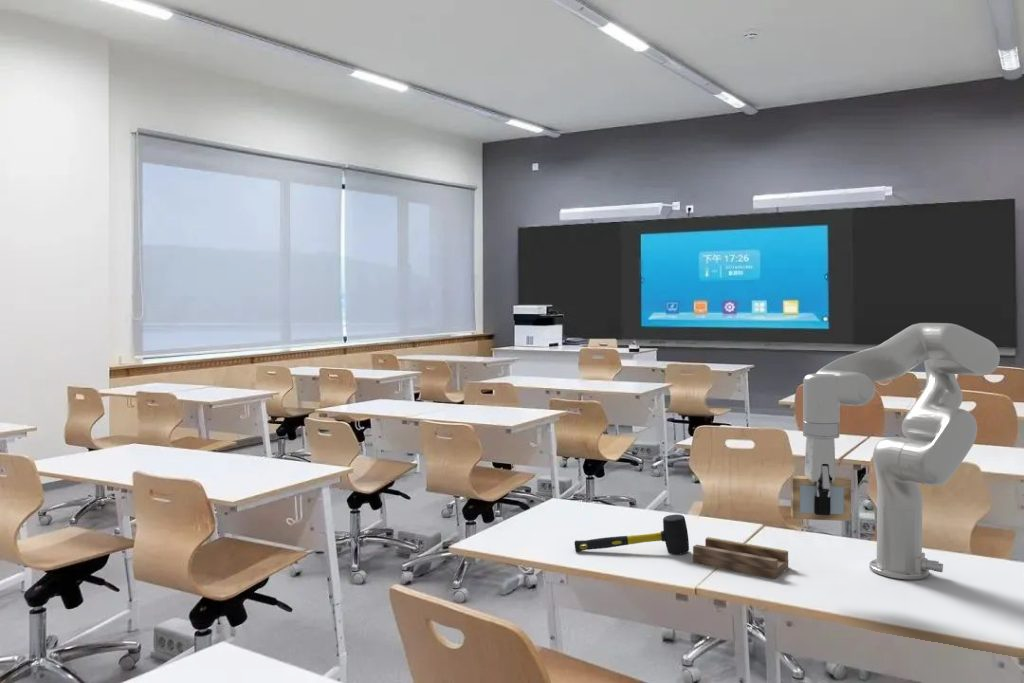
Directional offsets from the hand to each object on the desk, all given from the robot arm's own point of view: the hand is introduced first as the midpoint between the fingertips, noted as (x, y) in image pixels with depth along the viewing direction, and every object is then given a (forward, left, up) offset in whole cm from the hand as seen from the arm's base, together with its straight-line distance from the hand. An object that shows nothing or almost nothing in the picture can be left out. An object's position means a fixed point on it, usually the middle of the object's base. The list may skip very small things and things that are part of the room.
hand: (820, 511), depth 174 cm
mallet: (+47, +1, -18) cm, 50 cm away
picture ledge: (+20, -5, -17) cm, 27 cm away
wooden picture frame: (0, 0, -2) cm, 2 cm away
